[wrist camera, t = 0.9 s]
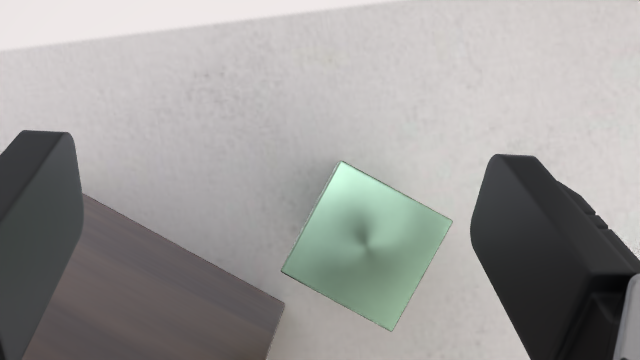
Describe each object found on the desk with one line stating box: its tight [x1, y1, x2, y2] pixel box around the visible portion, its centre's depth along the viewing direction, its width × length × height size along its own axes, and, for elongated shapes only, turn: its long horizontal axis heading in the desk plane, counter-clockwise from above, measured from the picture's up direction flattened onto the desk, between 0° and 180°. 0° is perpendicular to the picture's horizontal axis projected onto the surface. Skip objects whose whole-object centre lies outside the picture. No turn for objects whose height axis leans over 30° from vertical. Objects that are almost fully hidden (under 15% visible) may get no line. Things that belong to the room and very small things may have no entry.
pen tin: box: [281, 161, 453, 332], centre depth 24 cm, size 4×4×11 cm
